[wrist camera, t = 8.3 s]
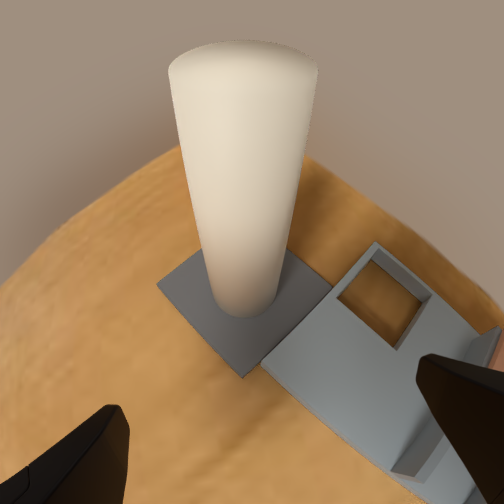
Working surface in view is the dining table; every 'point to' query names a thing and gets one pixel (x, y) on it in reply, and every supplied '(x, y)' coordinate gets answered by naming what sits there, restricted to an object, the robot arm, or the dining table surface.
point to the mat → (244, 329)
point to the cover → (498, 355)
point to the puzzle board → (383, 382)
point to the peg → (243, 159)
